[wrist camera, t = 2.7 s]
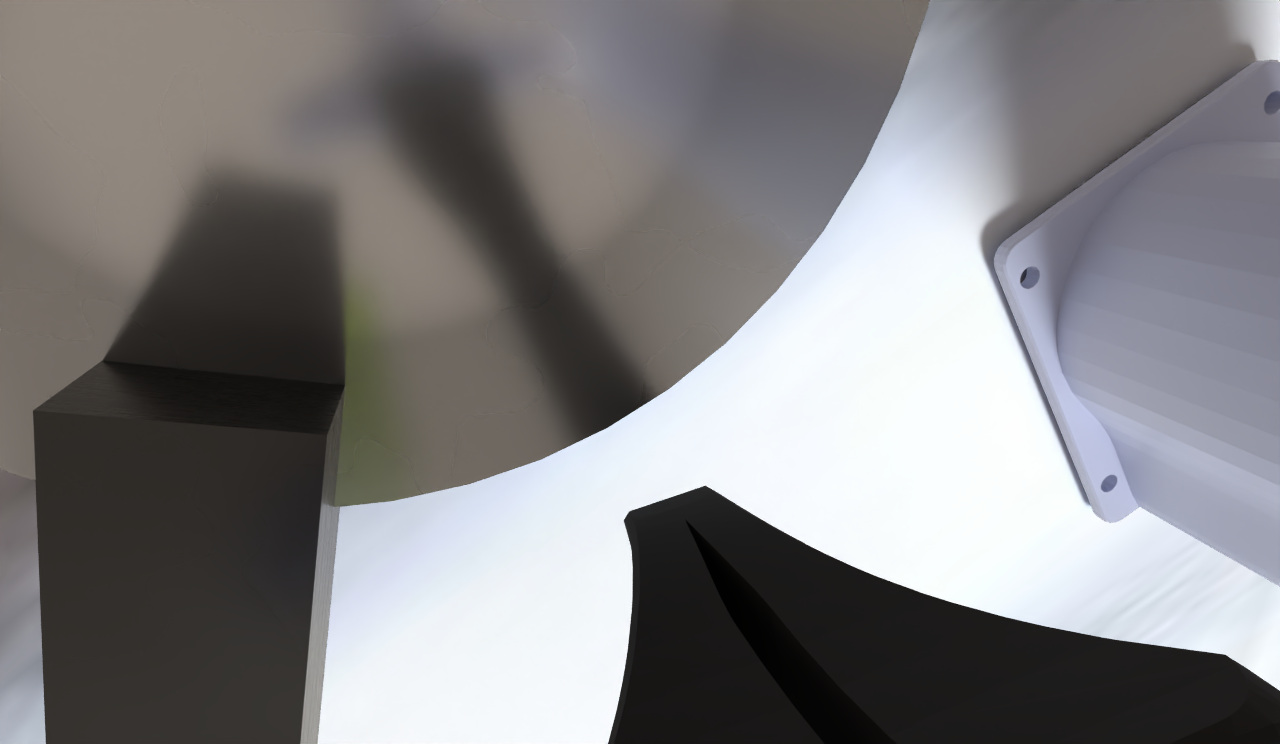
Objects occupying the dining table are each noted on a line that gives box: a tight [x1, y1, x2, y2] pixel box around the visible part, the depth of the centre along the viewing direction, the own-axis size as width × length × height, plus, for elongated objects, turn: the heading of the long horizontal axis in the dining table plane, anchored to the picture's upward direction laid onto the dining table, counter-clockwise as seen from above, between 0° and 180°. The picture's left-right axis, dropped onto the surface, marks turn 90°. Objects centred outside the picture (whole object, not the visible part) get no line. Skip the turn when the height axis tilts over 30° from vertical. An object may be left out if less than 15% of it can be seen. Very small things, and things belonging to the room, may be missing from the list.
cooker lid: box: [0, 0, 930, 744], centre depth 7 cm, size 20×14×2 cm
